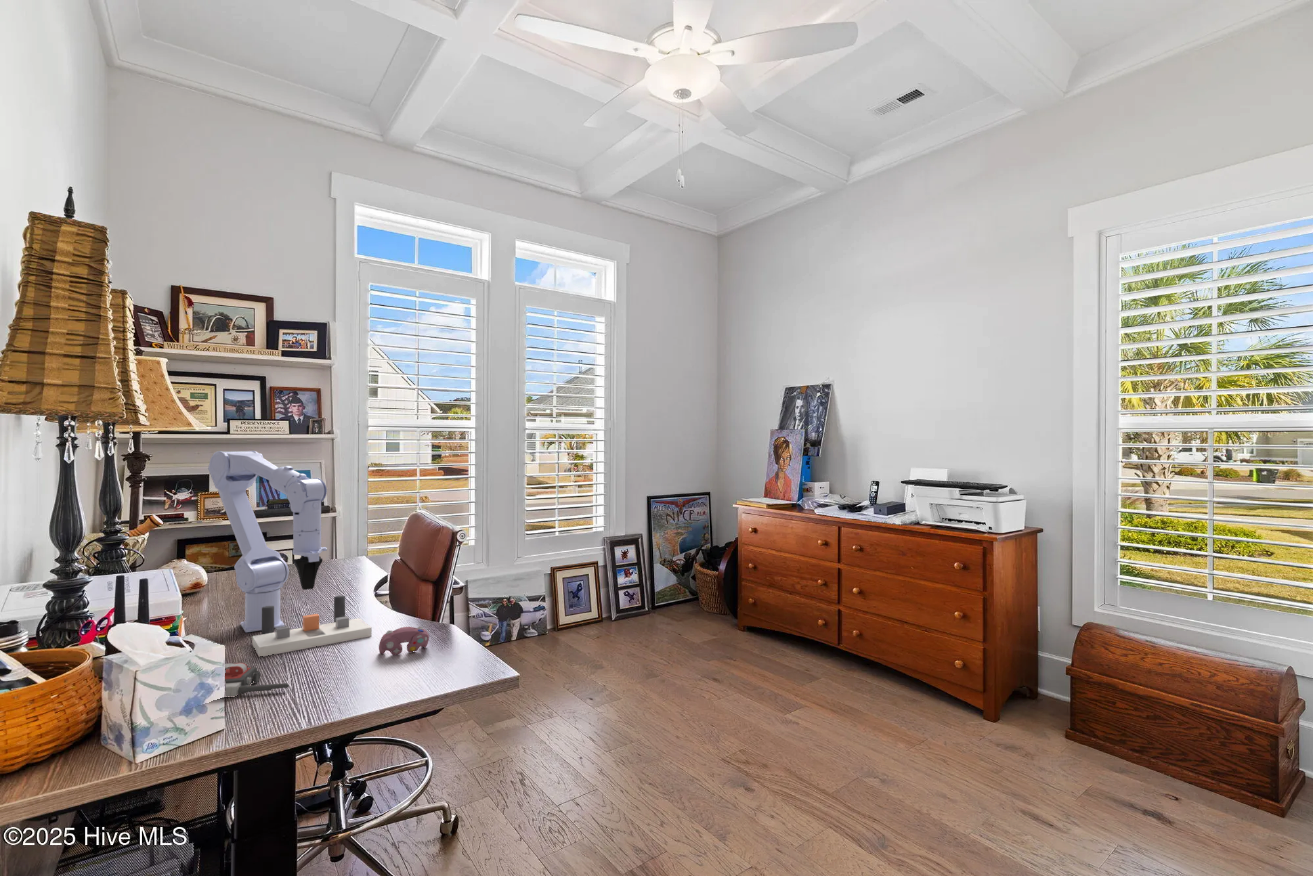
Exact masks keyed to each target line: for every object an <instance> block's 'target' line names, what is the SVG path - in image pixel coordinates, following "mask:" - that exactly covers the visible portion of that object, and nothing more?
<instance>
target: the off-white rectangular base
mask: <svg viewBox="0 0 1313 876" xmlns="http://www.w3.org/2000/svg"><path fill="white" fill-rule="evenodd" d="M372 635H373V634H372V626H370V625H369V624H368V623H367V622H365V621H364V620H363V619H361V618H360V617H359V618H351V619H350V618H349V616H347V615H345V617H339V618H336V622H334V621H333V622H327V623H322V624H319V629H315V630H309V631H304V630H303V627H299V628H293V629H291V627H290V626H289V625H286V626H283V627H277V628H275V631H274V633H268V634H262V633H261V634H257V635H253V636H251V637H252V639H251V641H252V643H251V644H252V648H253V649H254V648H255V649H254V650H256V651H255V652H256V654H257V655H258V657H259V658H261V657H260V656H263V657H267V656H268V655H269V656H273V655H272V654H274V655H278V654H283V653H289V652H295V651H300V650H304V649H311V648H315V647H316V646H317V647H321V646H328V645H332V644H338V643H341V642H343V643H344V642H348V641H353V640H358V639H365V638H370V637H372Z"/></svg>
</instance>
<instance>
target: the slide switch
mask: <svg viewBox="0 0 1313 876" xmlns="http://www.w3.org/2000/svg"><path fill="white" fill-rule="evenodd" d="M319 625H320V615H319V613H313V614H307V615H303V616H302V628H303V630H304V631H309V630H315V629H319Z"/></svg>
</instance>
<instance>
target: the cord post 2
mask: <svg viewBox="0 0 1313 876" xmlns="http://www.w3.org/2000/svg"><path fill="white" fill-rule="evenodd" d="M345 616H346V595H335V596H334V597H333V623H334V622H336V618H339V617H345Z"/></svg>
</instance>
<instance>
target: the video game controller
mask: <svg viewBox="0 0 1313 876" xmlns="http://www.w3.org/2000/svg"><path fill="white" fill-rule="evenodd" d="M429 642H430V635H429V633H428V631H427V630H426V629H425V628H424V627H423V626H418V627H414V626H404V627H403V626H402V627H399V628H397V629H395V630H387V631H386V632H385V633H384V634H383V635H382V637H381V638H380V640H379V644H378V652H379V654H381V655H383V654H384V653H386V652H390V654H391V655H393V656H398V654H399V655H401V654H402V652H403V645H402V644H404V643H405V644H406V643H407V644H406V650H407V653H409V652H413V651H416V652H418V650H419V649H420V648H422V647H425V648H426V647H427V646H428V644H429Z"/></svg>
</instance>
